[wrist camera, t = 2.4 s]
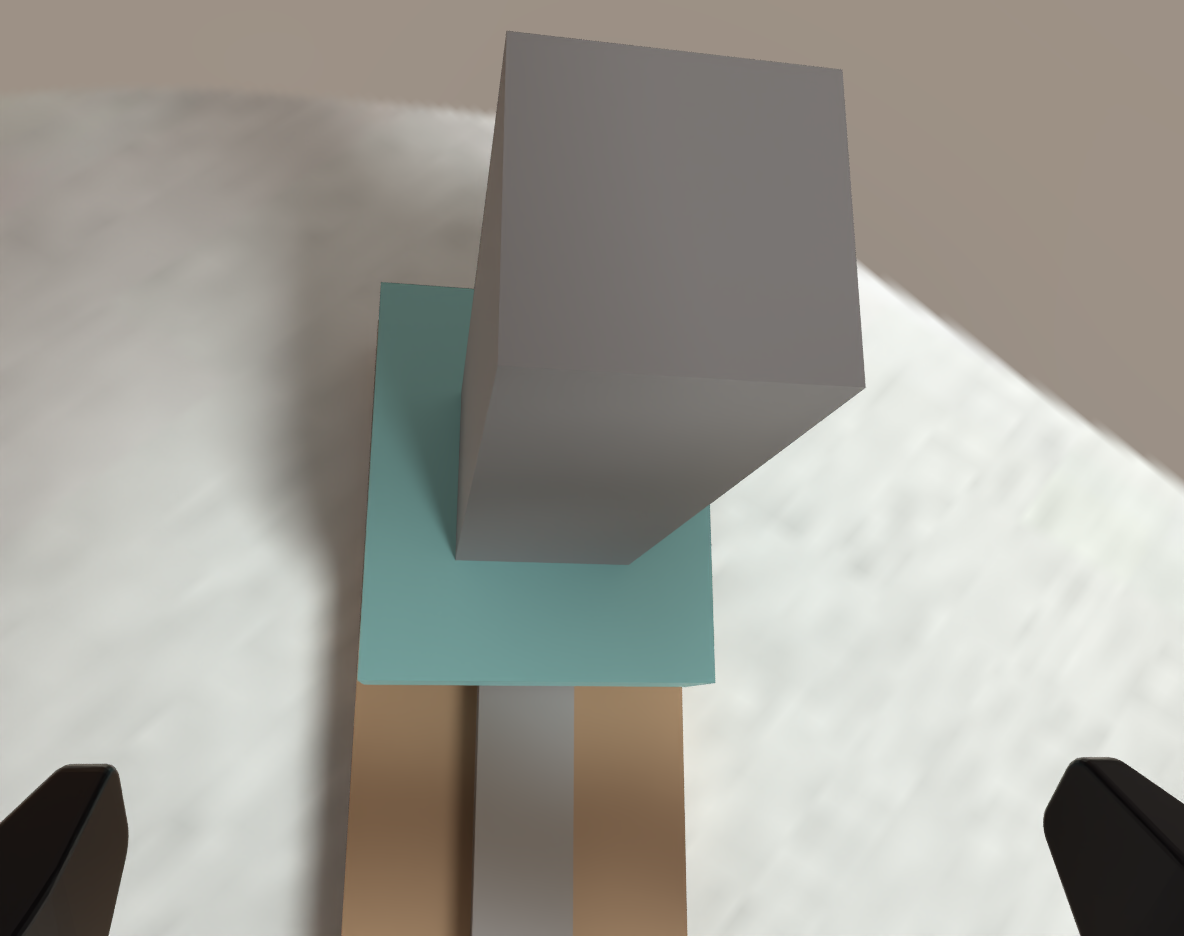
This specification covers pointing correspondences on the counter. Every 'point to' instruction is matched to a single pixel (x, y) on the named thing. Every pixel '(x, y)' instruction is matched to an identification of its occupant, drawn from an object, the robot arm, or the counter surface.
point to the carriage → (606, 367)
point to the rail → (515, 811)
